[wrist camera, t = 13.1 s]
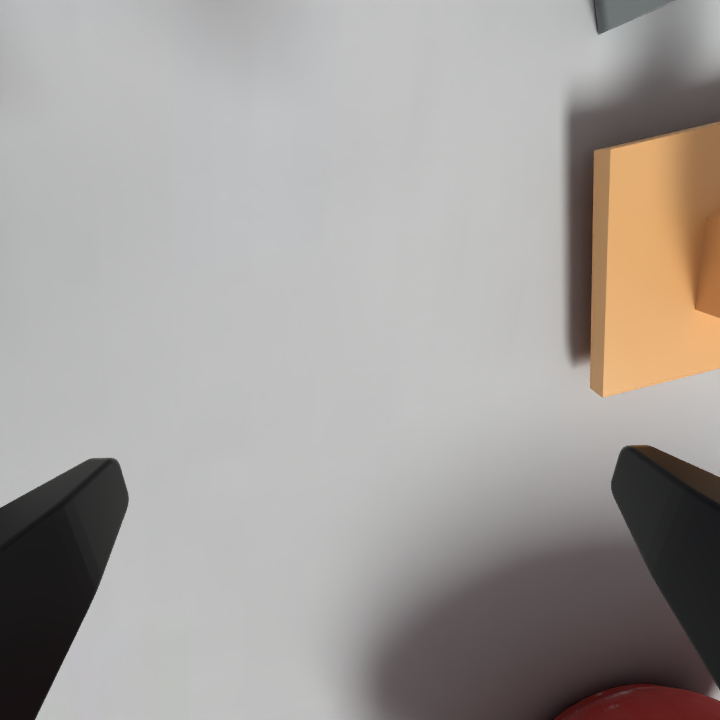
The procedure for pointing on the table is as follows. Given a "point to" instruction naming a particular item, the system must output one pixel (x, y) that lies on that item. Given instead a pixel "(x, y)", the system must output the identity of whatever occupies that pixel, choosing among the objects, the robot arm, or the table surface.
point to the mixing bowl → (644, 705)
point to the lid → (656, 260)
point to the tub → (623, 11)
